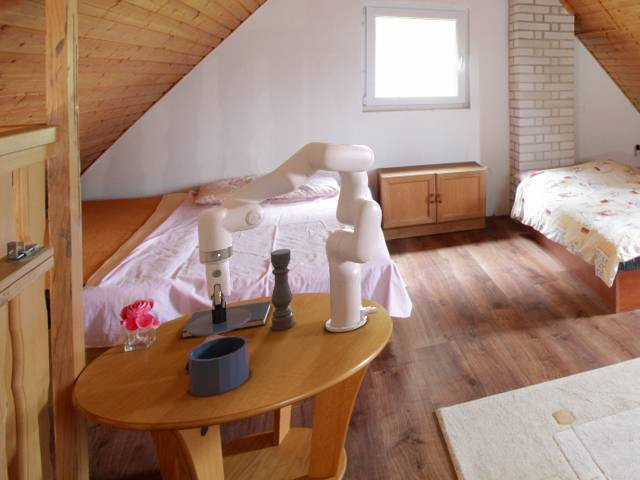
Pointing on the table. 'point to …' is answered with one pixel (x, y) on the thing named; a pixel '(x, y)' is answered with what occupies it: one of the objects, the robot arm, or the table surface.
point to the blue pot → (218, 365)
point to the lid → (207, 328)
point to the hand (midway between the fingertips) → (219, 319)
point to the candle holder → (281, 290)
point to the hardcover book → (256, 309)
